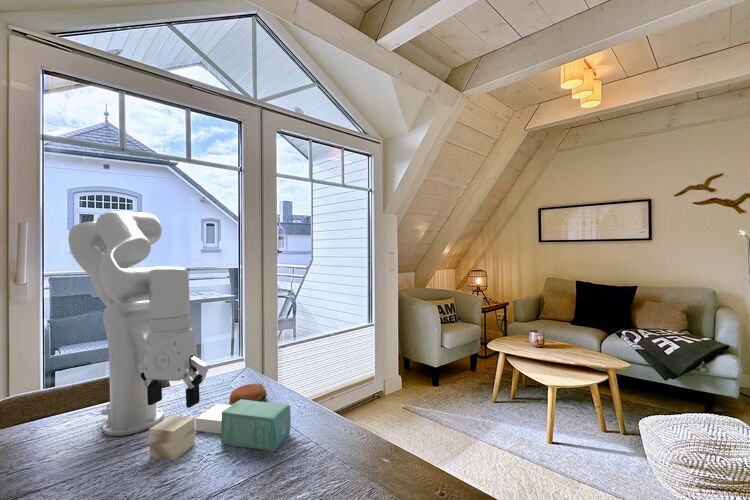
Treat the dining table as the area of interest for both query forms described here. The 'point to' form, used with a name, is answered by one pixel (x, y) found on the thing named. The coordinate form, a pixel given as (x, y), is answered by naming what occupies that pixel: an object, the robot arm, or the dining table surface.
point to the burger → (248, 393)
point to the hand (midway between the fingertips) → (173, 403)
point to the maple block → (172, 437)
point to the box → (255, 424)
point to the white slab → (211, 419)
